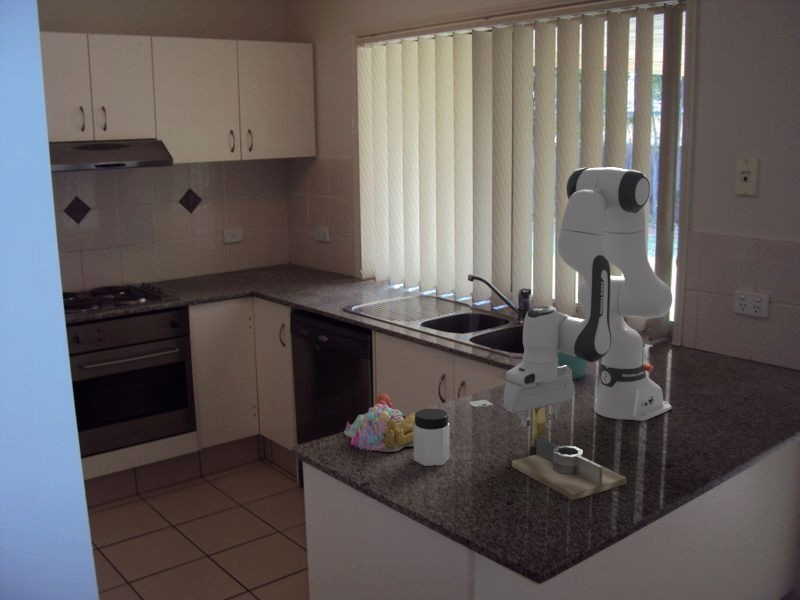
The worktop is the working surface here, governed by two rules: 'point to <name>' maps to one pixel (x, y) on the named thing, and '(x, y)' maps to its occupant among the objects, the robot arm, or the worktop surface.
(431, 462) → the jar
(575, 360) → the flower pot
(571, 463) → the grey metal ringed bar
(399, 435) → the candy landscape model
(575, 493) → the birch board
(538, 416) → the pin
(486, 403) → the mounting bracket
